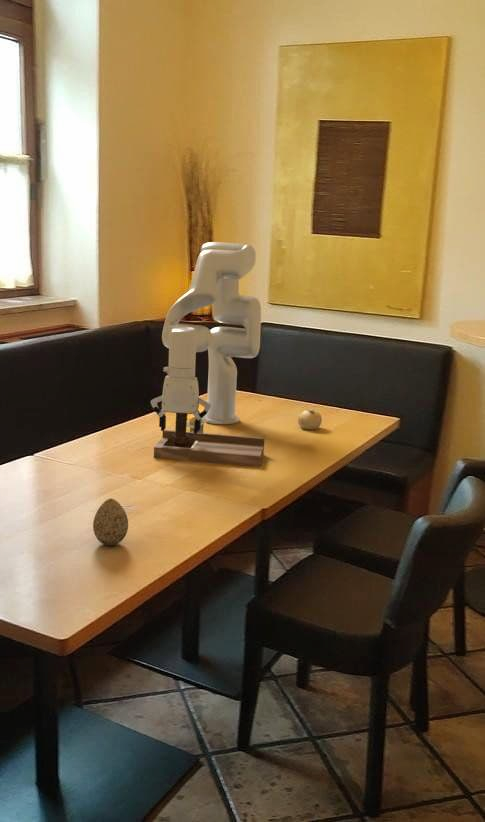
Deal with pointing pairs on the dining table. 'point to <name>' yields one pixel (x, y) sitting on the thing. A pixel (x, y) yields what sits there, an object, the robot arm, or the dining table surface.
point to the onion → (309, 419)
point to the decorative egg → (110, 523)
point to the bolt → (180, 431)
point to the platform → (192, 421)
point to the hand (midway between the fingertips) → (179, 431)
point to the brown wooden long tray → (212, 449)
